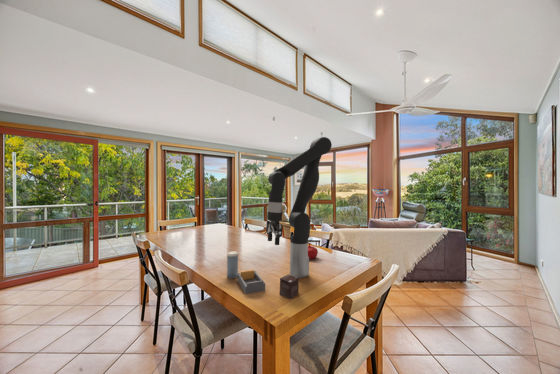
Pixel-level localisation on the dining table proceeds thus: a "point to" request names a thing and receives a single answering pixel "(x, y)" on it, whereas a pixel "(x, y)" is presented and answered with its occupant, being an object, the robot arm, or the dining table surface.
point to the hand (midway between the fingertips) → (273, 242)
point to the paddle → (247, 274)
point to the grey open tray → (252, 284)
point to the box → (289, 286)
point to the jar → (232, 264)
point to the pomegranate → (312, 252)
